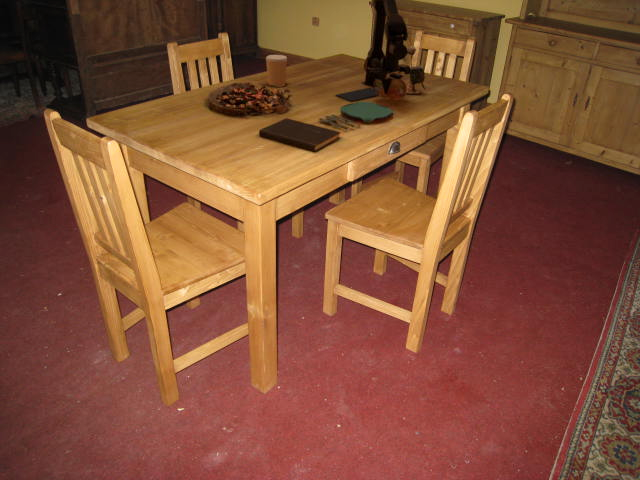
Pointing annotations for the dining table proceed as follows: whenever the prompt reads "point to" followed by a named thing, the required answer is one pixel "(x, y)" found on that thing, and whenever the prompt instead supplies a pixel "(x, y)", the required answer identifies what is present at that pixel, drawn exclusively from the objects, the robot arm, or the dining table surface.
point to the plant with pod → (415, 74)
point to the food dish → (248, 100)
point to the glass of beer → (276, 69)
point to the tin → (391, 89)
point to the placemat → (358, 94)
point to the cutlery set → (360, 113)
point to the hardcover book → (300, 134)
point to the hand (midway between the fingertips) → (388, 92)
